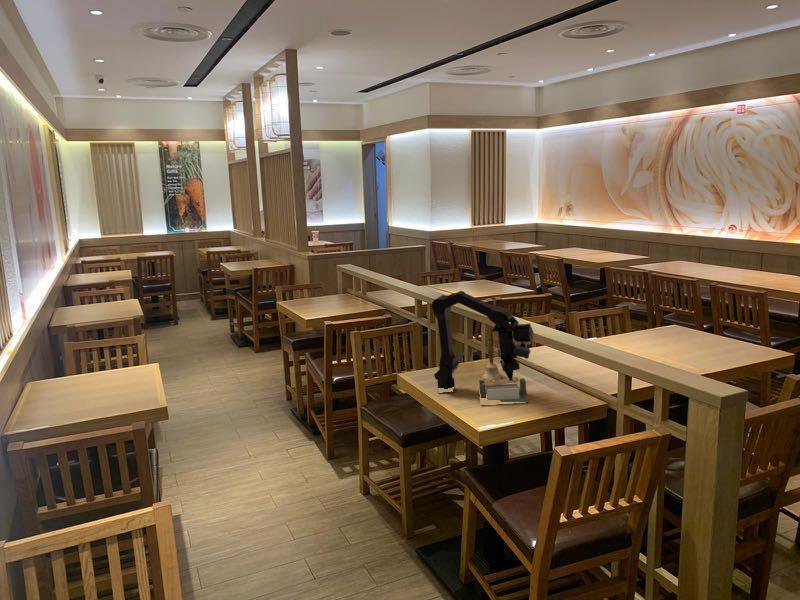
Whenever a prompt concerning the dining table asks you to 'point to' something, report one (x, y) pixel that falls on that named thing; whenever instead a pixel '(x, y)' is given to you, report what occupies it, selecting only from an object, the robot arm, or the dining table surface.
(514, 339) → the robot arm
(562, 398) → the dining table surface
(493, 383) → the wooden plank
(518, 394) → the heatsink board
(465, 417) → the dining table surface
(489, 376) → the hand bell
